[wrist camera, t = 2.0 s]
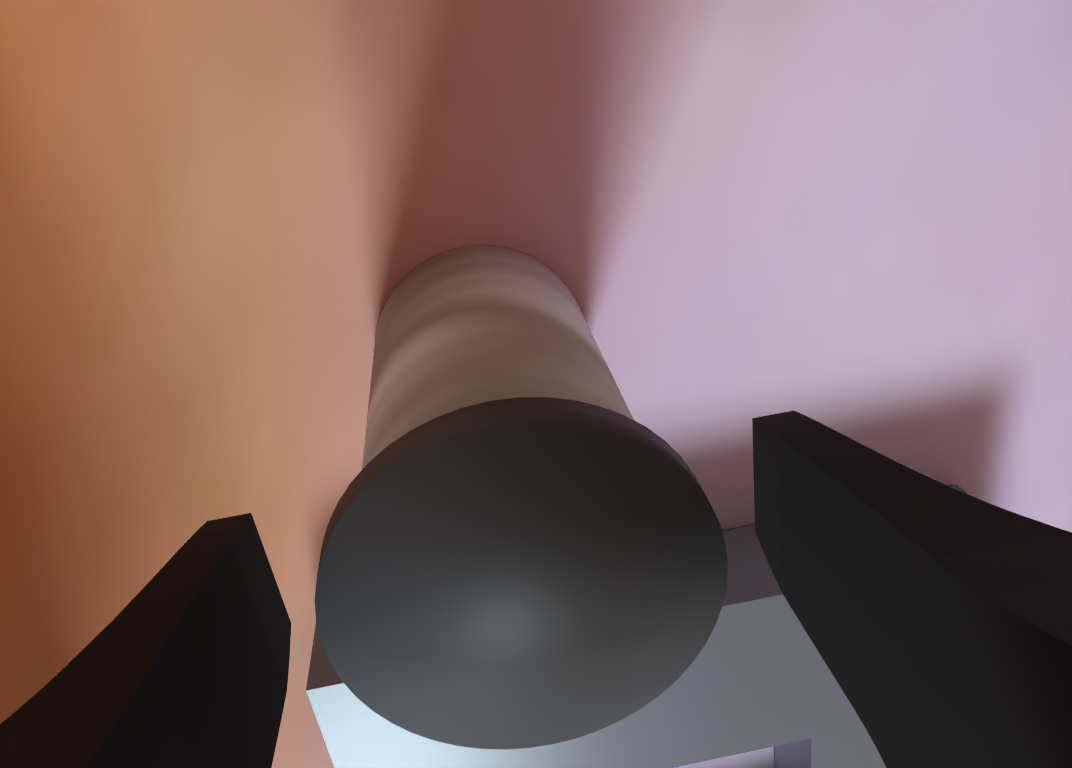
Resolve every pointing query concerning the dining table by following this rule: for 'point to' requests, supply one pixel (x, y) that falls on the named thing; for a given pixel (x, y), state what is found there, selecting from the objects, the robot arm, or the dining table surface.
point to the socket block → (659, 701)
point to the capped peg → (510, 522)
